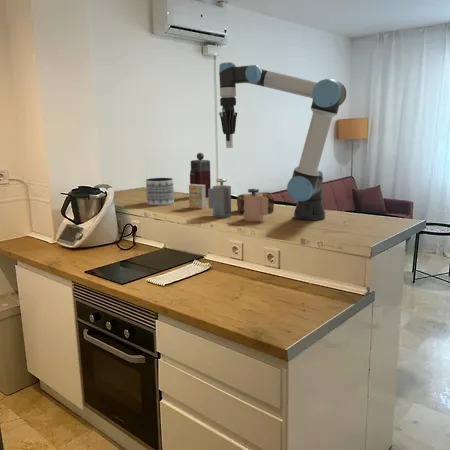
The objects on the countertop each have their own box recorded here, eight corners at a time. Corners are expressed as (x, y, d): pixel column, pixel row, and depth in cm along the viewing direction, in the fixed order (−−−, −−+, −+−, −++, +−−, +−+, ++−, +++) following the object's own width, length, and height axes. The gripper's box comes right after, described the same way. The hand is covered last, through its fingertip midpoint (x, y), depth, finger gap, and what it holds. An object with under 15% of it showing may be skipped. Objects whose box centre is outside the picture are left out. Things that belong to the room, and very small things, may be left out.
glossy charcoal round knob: (251, 212, 229) (251, 188, 226) (260, 213, 226) (260, 189, 224) (246, 213, 224) (246, 189, 222) (255, 214, 222) (255, 190, 219)
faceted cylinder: (214, 213, 243) (213, 184, 240) (234, 215, 237) (234, 186, 233) (204, 216, 235) (203, 186, 232) (225, 218, 229) (224, 188, 226)
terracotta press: (249, 216, 232) (249, 193, 229) (271, 219, 226) (271, 194, 223) (240, 220, 224) (240, 195, 222) (263, 222, 218) (263, 197, 216)
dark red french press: (188, 197, 298) (187, 153, 292) (201, 195, 306) (200, 152, 300) (198, 198, 292) (197, 153, 286) (211, 196, 300) (210, 152, 295)
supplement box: (189, 208, 259) (188, 184, 256) (192, 206, 263) (192, 183, 261) (202, 209, 256) (201, 185, 253) (206, 207, 260) (205, 184, 258)
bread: (270, 209, 253) (270, 191, 251) (274, 212, 243) (274, 193, 241) (236, 210, 252) (236, 191, 250) (238, 213, 241) (238, 194, 239)
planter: (179, 202, 280) (178, 178, 277) (162, 206, 267) (161, 181, 264) (159, 200, 288) (158, 177, 285) (141, 204, 275) (140, 180, 272)
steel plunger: (220, 203, 237) (219, 178, 235) (228, 204, 235) (228, 179, 232) (215, 204, 233) (214, 179, 230) (223, 205, 231) (223, 180, 228)
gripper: (228, 98, 227) (230, 147, 232) (213, 97, 217) (215, 148, 221) (241, 97, 223) (243, 147, 228) (227, 96, 213) (228, 148, 217)
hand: (229, 147), depth 225 cm, fingers closed
